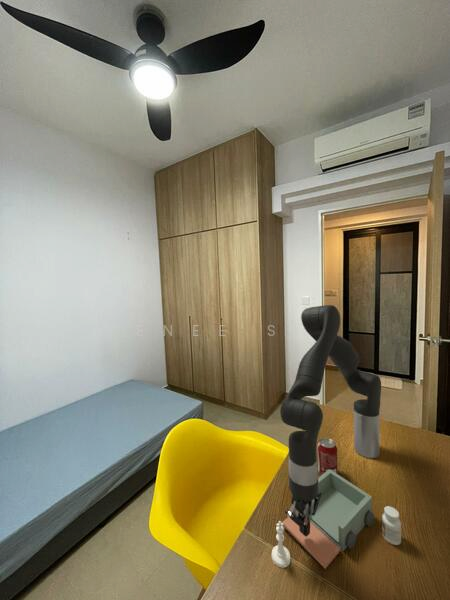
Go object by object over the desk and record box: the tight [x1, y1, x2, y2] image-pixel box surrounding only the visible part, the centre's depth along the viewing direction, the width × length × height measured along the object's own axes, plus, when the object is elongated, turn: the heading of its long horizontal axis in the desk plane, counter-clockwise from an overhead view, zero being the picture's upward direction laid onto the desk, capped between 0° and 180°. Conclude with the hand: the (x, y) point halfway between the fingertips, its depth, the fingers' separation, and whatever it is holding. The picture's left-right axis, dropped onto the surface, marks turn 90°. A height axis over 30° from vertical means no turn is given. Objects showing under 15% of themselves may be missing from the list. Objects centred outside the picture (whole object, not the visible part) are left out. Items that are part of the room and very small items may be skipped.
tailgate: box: [281, 512, 342, 570], centre depth 69 cm, size 1×14×7 cm
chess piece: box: [271, 520, 291, 568], centre depth 65 cm, size 5×5×10 cm
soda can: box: [316, 437, 338, 476], centre depth 92 cm, size 7×7×12 cm
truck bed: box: [311, 469, 375, 552], centre depth 76 cm, size 16×16×6 cm
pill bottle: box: [381, 505, 402, 546], centre depth 68 cm, size 4×4×8 cm
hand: (304, 532), depth 67 cm, fingers closed
